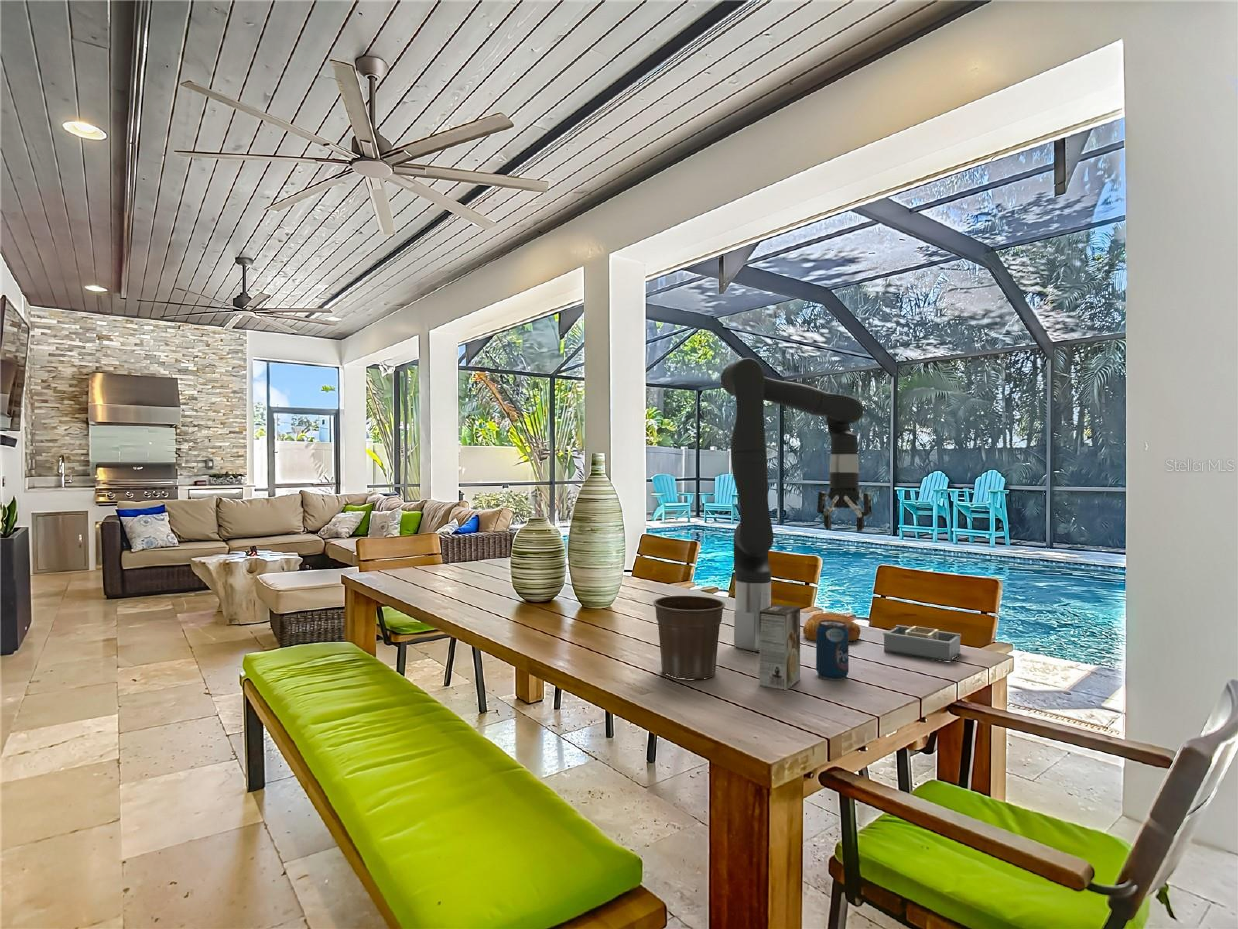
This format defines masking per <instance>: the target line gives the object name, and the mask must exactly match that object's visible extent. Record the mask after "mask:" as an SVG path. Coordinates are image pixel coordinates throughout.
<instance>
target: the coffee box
mask: <svg viewBox="0 0 1238 929" xmlns="http://www.w3.org/2000/svg"><path fill="white" fill-rule="evenodd" d="M758 654H759V659H758V660H759V667H758V668H759V670H758V672H759V673H758V675H759V677H758V680H759V682H758V683H759V686H760V685H762V686H761V687H766V686H767V687H768V688H772V689H777V688H779V689H778V690H782V689H784V690H783V691H788V690H790V688H791V687H792V685H793V686H794V685H795V684H796V683H797V682H798V681H800V680H801V607H799V606H790V605H781V604H771V606H770V607H768V608H765V609H763V610H761V611H759V650H758Z"/></svg>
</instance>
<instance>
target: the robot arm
mask: <svg viewBox="0 0 1238 929" xmlns="http://www.w3.org/2000/svg"><path fill="white" fill-rule="evenodd" d="M720 384H721V387H722V388H723V390H724V391H725V392H727V393H728V394H729V395H731V396H734V397H735V403H736V418H735V423H734V428H733V431H732V436H731V441H730V459H731V460H730V462H731V470H732V476H733V479H734V485H735V488H736V493H737V495H738V496H737V497H738V500H739V512H740V513H739V516H740V517H739V518H740V520H739V521H740V522H739V523H738V525H737V526H736V528H735V530H734V534H733V568H734V574H735V579H734V580H735V582H734V583H735V584H734V585H735V589H734V590H735V591H734V600H735V602H734V604H735V605H734V612H733V616H734V617H733V618H734V620H733V647H734V648H736V647H738V648H737V649H741V648H742V649H743V650H747V651H752V652H757V651H759V611H761V610H763V609H765V608H768V607H770V606H772V604H771V603H772V572H771V568H770V563H769V551H770V550H771V549H772V548H773V547H772V546H773V544H774V537H775V536H774V530H773V526H772V520H771V519H772V518H771V513H770V507H769V487H768V486H769V481H768V480H769V478H768V477H769V475H768V453H767V442H766V428H765V416H764V415H765V414H764V408H765V407H764V404H765V403H764V401H766V402H770V403H774V404H777V405H781V406H785V407H787V408H790V409H793V410H797V411H800V412H802V413H806V414H810V415H812V416H818V417H821V416H824V417H825V418H826V426H827V428H828V430H827V431H828V433H829V437H830V460H829V492H825V491H819V492H818V494H817V507H816V508H817V509H816V512H817V513H818V514H820V515H822V516H823V526H824V528H825V530H831V529H832V513H833V512H834V511H835V510H836V509H851V510H852V511H853V512H854V513H855V515H856V516H857V517H856V531H857V532H862V531H863V530H864V528H865V519H866V517H867V516H871V515H872V514H873V513H872V510H873V509H872V496H871V495H872V494H871V493H870V492H865V493H860V491H859V488H860V487H859V481H860V480H859V478H860V477H859V476H860V475H859V474H860V473H859V472H860V467H859V464H860V462H859V457H858V456H859V455H858V454H859V453H858V452H859V451H858V450H859V448H858V442H859V440H858V436H857V434H855V433H853V432H851V431H852V430H851V426H850V424H855V423H856V422H858V421H860V420H861V418H862V417H863V416H864V415H863V414H864V407H863V405H862V403H861V402H860V401H859V400H858V399H857V398H855V397H853V396H849V395H845V394H839V393H835V392H828V391H824V390H822V389H819V388H816V387H812V386H811V385H806V384H802V383H798V382H792V381H784V380H778V379H775V378H774V379H773V378H771V377H770V378H769V377H766V376H765V373H764V369H763V367H762V365H761V363H760V362H759V361H758V360H756V359H754V358H751V357H745V358H742V359H738V360H737V361H734V362H732V363H730V364H728V365H727V366H725V368H723V369H722V372H721V375H720ZM827 499H829V500H830V503H829V504H828V505H827V508H826V500H827ZM859 500H861V501H862V502H863V509H862V508H861V505H860V504H859V503H858V501H859Z"/></svg>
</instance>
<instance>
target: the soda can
mask: <svg viewBox="0 0 1238 929" xmlns="http://www.w3.org/2000/svg"><path fill="white" fill-rule="evenodd" d="M815 642H816V644H815V650H816V651H815V653H816V654H815V655H816V656H815V662H816V663H815V669H816V672H817V673H818V674H817V675H818V676H819V677H820V678H822V679H824V680H825V679H826V680H829V679H830V681H842V680H844V679H846V677H847V676H848V674H849V670H850V669H849V663H850V662H849V656H850V655H849V651H850V650H849V648H850V646H849V642H850V641H849V632H848V629H847V627H846V623H844V622H841V621H835V620H823V621H820V622H819V625H818V627H817V629H816V641H815Z"/></svg>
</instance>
